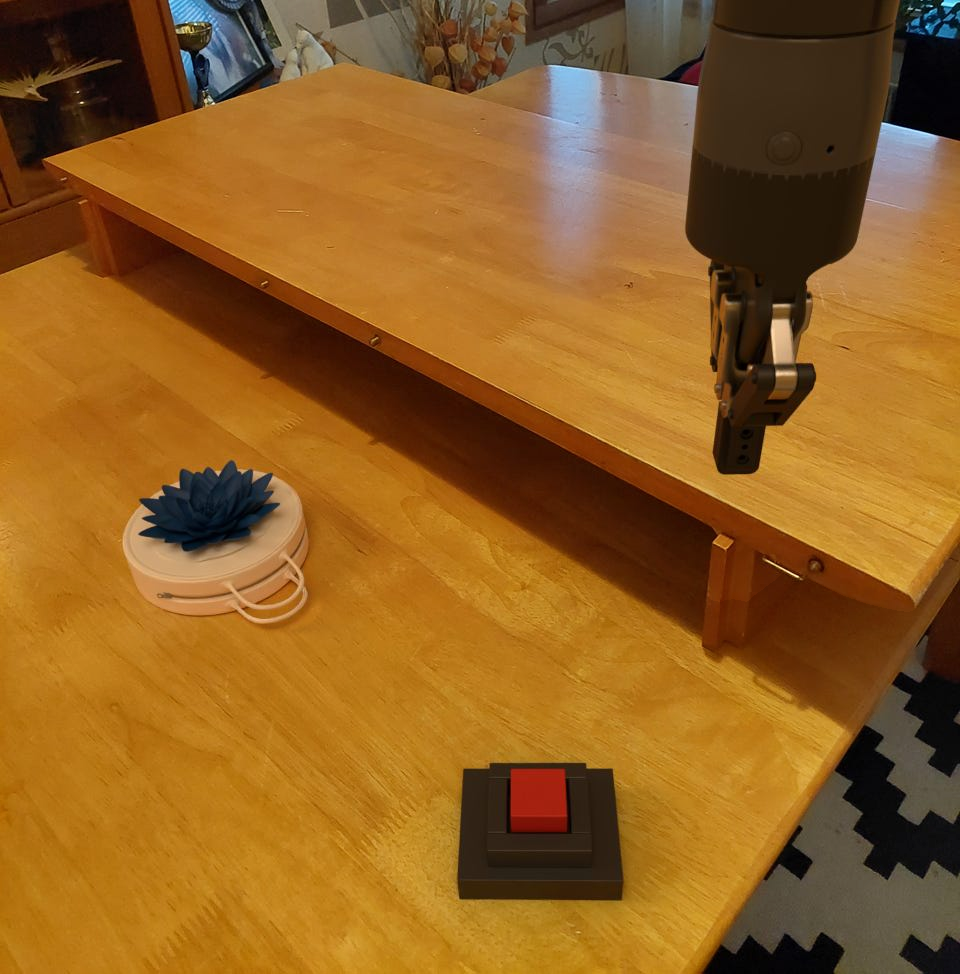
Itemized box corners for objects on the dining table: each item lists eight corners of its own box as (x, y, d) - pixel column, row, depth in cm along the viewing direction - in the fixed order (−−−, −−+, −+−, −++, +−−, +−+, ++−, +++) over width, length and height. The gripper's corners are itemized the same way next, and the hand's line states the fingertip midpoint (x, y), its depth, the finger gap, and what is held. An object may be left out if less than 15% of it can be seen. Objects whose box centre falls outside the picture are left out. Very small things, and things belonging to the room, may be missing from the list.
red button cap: (564, 785, 59) (564, 768, 58) (566, 833, 56) (567, 816, 55) (511, 785, 59) (510, 768, 58) (511, 832, 57) (510, 816, 56)
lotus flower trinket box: (85, 493, 81) (183, 614, 68) (244, 425, 89) (359, 523, 76) (107, 552, 85) (204, 676, 73) (257, 483, 93) (369, 584, 80)
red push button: (611, 787, 63) (613, 751, 61) (622, 900, 57) (625, 864, 54) (465, 787, 64) (461, 751, 61) (459, 899, 57) (455, 864, 55)
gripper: (929, 187, 34) (839, 546, 44) (831, 91, 44) (777, 399, 55) (721, 194, 34) (681, 548, 45) (673, 97, 45) (650, 402, 55)
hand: (734, 465), depth 50 cm, fingers closed
